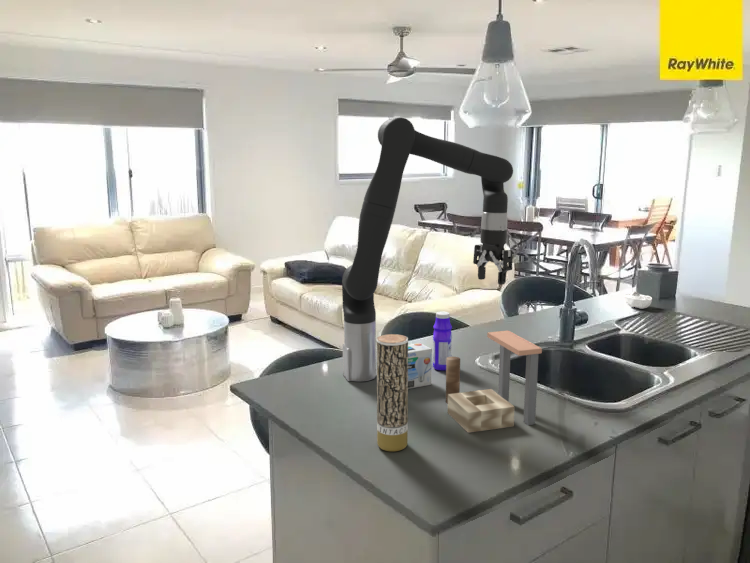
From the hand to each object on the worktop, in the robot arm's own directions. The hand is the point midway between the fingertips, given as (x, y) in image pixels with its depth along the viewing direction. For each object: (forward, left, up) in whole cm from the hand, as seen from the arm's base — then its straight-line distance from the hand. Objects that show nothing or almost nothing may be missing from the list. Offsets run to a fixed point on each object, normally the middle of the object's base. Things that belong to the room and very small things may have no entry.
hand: (491, 281), depth 183 cm
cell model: (+95, +49, -27) cm, 111 cm away
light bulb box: (-28, -6, -27) cm, 39 cm away
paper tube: (-45, -41, -27) cm, 66 cm away
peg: (-22, -22, -27) cm, 41 cm away
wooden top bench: (-11, -33, -27) cm, 44 cm away
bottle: (-14, +4, -27) cm, 31 cm away
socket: (-20, -34, -27) cm, 48 cm away
